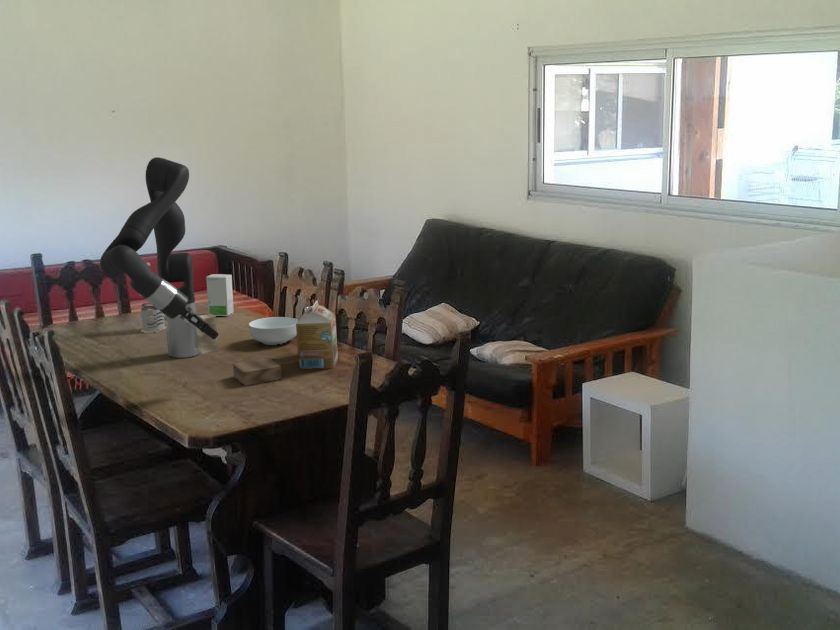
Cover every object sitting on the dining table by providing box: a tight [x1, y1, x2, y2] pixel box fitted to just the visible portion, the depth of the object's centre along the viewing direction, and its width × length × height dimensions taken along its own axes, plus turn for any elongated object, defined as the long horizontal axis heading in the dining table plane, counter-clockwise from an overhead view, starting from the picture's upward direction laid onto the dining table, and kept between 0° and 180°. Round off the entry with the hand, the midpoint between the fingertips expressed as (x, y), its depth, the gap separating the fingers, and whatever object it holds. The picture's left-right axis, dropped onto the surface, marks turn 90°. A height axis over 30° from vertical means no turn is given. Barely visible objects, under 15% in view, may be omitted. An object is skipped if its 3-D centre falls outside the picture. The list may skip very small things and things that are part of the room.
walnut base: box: [232, 357, 282, 387], centre depth 275 cm, size 11×11×4 cm
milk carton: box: [296, 299, 339, 370], centre depth 286 cm, size 11×11×19 cm
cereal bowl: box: [248, 316, 299, 346], centre depth 316 cm, size 17×17×7 cm
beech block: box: [196, 314, 220, 355], centre depth 263 cm, size 5×5×10 cm
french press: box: [138, 261, 167, 331], centre depth 340 cm, size 10×12×25 cm
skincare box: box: [205, 273, 235, 317], centre depth 361 cm, size 8×7×16 cm
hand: (213, 334), depth 264 cm, fingers closed on beech block, 4 cm apart
